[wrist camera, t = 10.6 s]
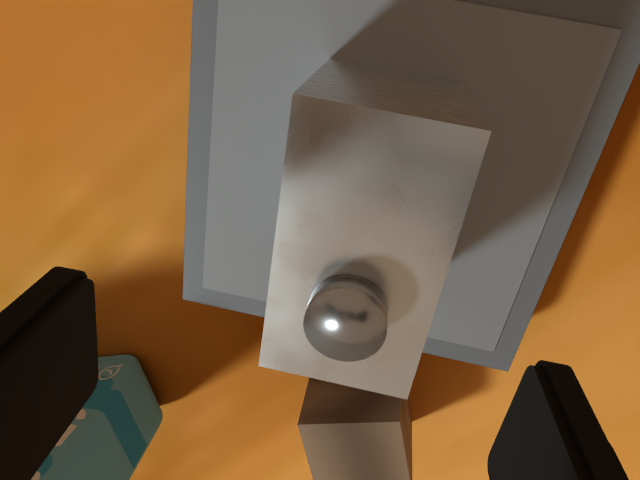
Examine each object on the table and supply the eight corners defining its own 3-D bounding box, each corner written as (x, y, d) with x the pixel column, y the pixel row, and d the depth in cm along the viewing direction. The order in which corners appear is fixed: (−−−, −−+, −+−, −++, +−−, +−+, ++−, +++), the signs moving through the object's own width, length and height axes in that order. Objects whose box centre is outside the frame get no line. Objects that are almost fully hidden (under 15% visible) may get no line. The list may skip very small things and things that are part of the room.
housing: (330, 57, 19) (284, 101, 12) (464, 82, 19) (497, 142, 12) (298, 263, 23) (250, 386, 16) (407, 287, 23) (407, 422, 16)
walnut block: (330, 423, 32) (317, 494, 27) (314, 358, 30) (297, 424, 25) (411, 420, 31) (412, 494, 26) (401, 353, 29) (399, 421, 24)
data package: (147, 350, 31) (13, 538, 21) (172, 406, 33) (61, 605, 23) (-13, 365, 34) (-203, 538, 24) (18, 416, 36) (-145, 598, 25)
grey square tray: (204, 269, 28) (181, 300, 25) (223, -71, 21) (194, -79, 18) (498, 333, 27) (508, 372, 24) (630, 0, 19) (666, 2, 17)
